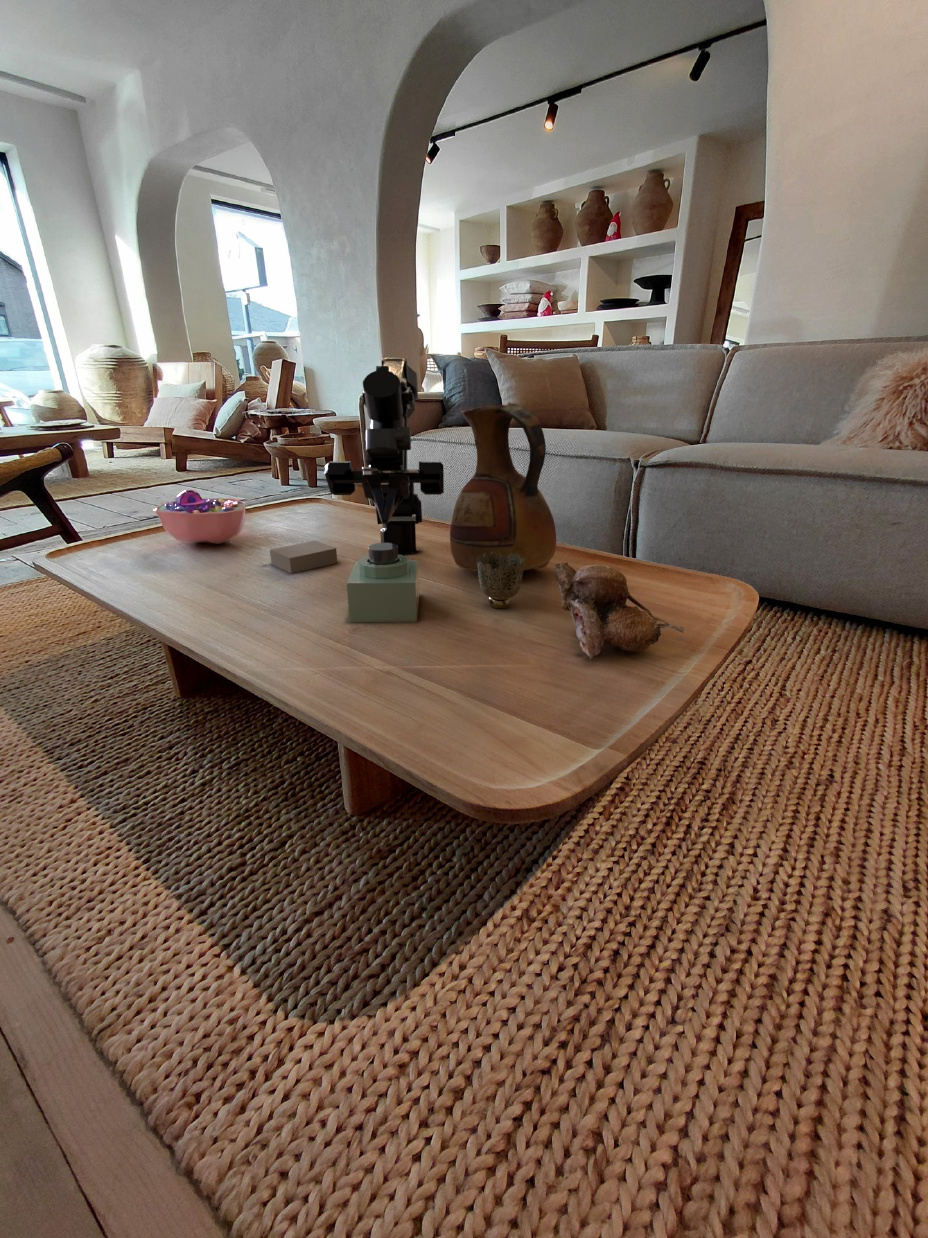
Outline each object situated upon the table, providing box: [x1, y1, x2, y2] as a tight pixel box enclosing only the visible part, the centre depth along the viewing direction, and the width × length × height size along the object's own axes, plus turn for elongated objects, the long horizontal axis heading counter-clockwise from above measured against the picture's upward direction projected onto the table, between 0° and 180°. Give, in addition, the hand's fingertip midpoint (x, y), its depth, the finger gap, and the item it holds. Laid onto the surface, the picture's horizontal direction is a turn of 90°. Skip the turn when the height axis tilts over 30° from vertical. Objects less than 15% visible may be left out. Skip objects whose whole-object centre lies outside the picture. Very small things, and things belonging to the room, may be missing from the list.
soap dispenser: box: [346, 554, 420, 623], centre depth 90 cm, size 11×10×8 cm
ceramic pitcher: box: [449, 402, 557, 572], centre depth 104 cm, size 20×20×30 cm
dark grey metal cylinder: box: [367, 542, 398, 565], centre depth 88 cm, size 4×4×3 cm
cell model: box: [153, 489, 247, 545], centre depth 125 cm, size 17×20×11 cm
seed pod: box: [554, 562, 685, 661], centre depth 78 cm, size 13×16×15 cm
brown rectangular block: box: [269, 540, 338, 574], centre depth 113 cm, size 10×8×3 cm
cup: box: [477, 551, 525, 610], centre depth 91 cm, size 8×7×8 cm
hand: (384, 522), depth 90 cm, fingers closed
